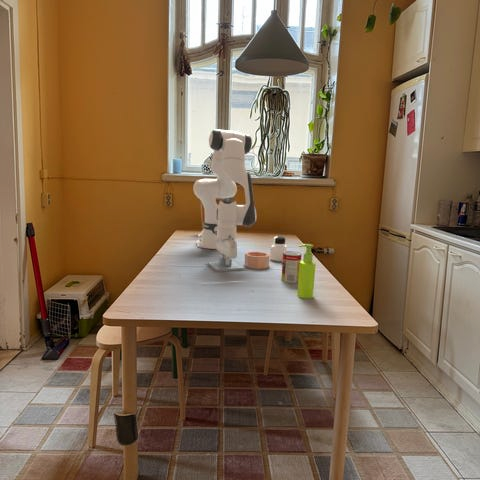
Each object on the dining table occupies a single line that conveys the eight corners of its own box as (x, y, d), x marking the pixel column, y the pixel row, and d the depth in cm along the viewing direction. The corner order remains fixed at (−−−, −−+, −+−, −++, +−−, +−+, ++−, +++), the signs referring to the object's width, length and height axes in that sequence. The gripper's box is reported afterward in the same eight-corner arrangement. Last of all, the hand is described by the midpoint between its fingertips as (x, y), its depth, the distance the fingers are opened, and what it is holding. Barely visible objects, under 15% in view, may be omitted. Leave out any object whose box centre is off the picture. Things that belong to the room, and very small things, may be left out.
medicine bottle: (286, 258, 214) (287, 236, 212) (283, 261, 207) (284, 238, 205) (273, 257, 216) (274, 235, 214) (269, 260, 210) (271, 237, 207)
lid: (207, 264, 193) (208, 256, 193) (233, 263, 198) (233, 255, 197) (216, 271, 181) (216, 262, 181) (243, 270, 186) (243, 261, 185)
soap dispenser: (293, 293, 157) (296, 242, 153) (310, 293, 158) (314, 243, 154) (296, 298, 151) (300, 245, 148) (314, 298, 152) (318, 246, 148)
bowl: (241, 264, 199) (242, 252, 198) (262, 263, 203) (263, 251, 201) (250, 269, 189) (251, 257, 187) (271, 268, 193) (272, 256, 191)
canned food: (297, 278, 179) (299, 251, 176) (301, 283, 171) (303, 255, 169) (280, 277, 178) (281, 250, 176) (282, 282, 171) (284, 254, 168)
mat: (204, 264, 194) (204, 263, 194) (235, 263, 200) (235, 262, 200) (214, 273, 180) (214, 272, 180) (247, 271, 185) (247, 270, 185)
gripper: (241, 238, 178) (239, 268, 181) (225, 230, 197) (224, 257, 200) (227, 238, 176) (226, 269, 179) (213, 230, 195) (212, 258, 197)
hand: (225, 263), depth 189 cm, fingers closed on lid, 3 cm apart
